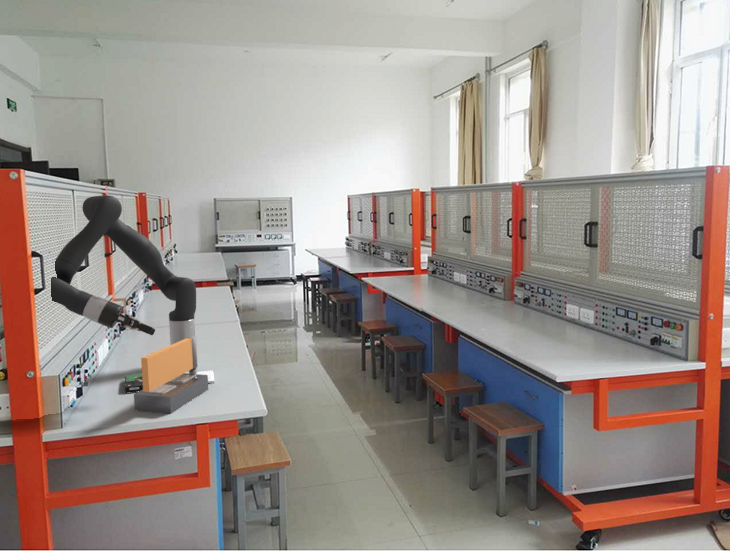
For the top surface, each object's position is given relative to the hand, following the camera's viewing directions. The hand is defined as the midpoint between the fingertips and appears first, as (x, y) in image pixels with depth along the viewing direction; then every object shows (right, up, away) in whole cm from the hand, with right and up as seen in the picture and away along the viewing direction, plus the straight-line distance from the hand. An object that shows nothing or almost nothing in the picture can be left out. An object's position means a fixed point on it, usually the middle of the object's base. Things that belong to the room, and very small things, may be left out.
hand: (152, 331), depth 182 cm
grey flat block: (+7, -21, -2) cm, 22 cm away
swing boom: (+7, -14, -3) cm, 16 cm away
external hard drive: (+10, -19, +19) cm, 29 cm away
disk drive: (-9, -20, +13) cm, 26 cm away
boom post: (+10, -20, +10) cm, 24 cm away
